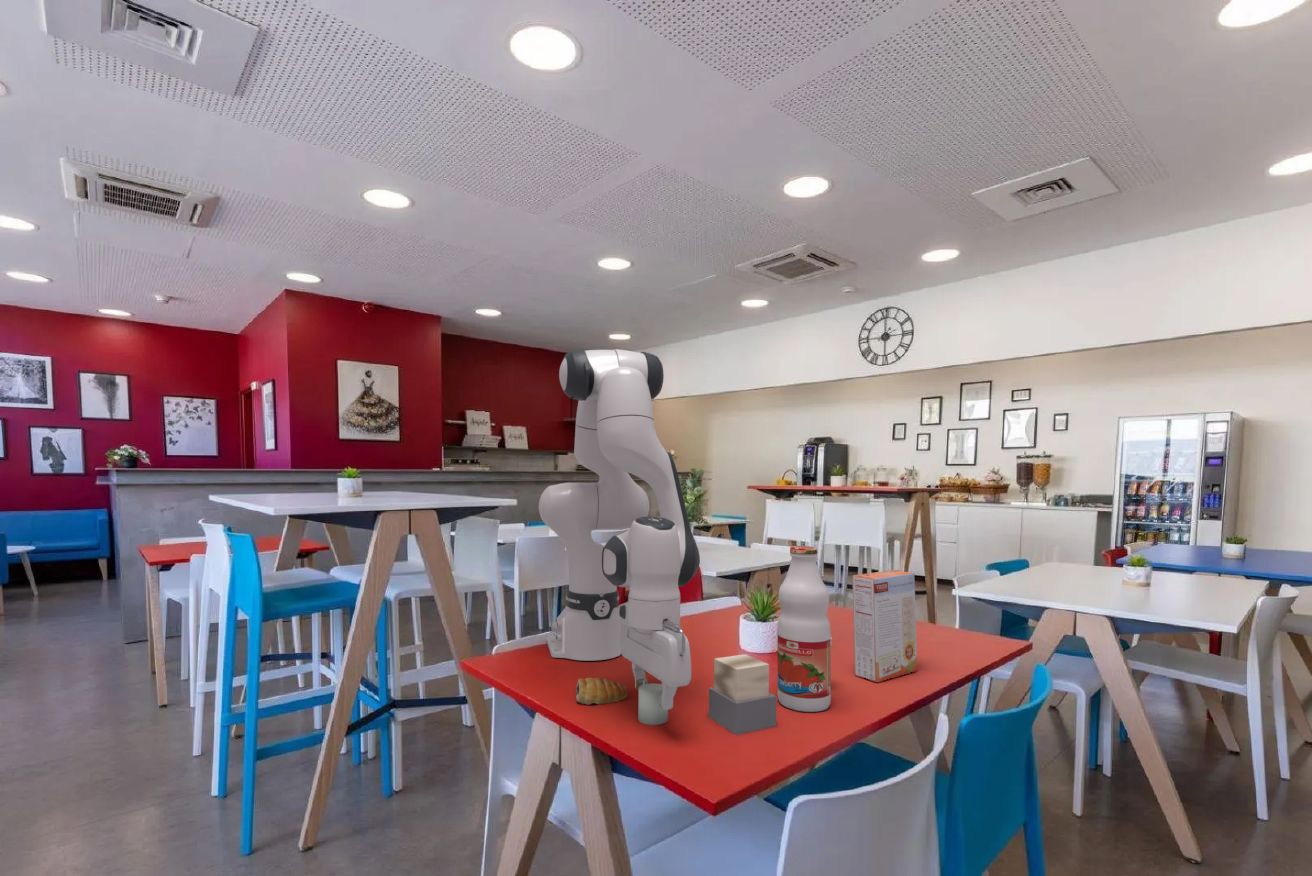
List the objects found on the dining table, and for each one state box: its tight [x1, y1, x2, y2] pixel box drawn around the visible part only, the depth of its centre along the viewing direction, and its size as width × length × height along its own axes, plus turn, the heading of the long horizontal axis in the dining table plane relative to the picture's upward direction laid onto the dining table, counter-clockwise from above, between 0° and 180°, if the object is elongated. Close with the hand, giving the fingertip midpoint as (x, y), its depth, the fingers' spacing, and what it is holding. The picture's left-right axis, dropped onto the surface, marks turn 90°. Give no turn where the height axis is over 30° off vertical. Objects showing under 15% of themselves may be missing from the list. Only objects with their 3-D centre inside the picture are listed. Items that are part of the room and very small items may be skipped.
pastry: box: [575, 676, 628, 706], centre depth 109 cm, size 9×7×4 cm
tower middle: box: [713, 653, 770, 702], centre depth 100 cm, size 6×6×5 cm
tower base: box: [708, 686, 777, 736], centre depth 100 cm, size 8×8×5 cm
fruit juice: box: [776, 545, 832, 713], centre depth 109 cm, size 9×9×28 cm
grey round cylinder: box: [637, 682, 669, 726], centre depth 100 cm, size 5×5×5 cm
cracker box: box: [852, 569, 918, 683], centre depth 126 cm, size 14×6×21 cm, turn 123°
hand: (653, 698), depth 100 cm, fingers open, 8 cm apart
